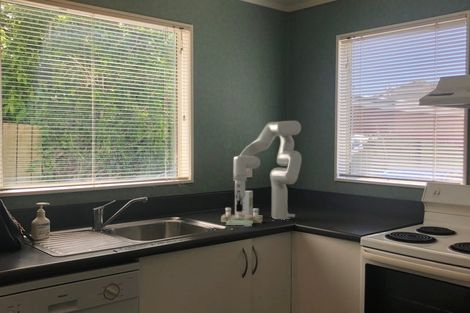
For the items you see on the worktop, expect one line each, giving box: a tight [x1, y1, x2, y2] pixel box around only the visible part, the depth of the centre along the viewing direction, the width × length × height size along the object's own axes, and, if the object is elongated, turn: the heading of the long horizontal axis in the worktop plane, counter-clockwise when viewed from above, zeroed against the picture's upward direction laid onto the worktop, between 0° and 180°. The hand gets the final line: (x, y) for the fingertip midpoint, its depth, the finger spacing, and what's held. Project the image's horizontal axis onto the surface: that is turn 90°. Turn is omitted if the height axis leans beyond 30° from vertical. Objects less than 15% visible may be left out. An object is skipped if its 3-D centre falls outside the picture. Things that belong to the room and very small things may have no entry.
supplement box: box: [234, 190, 254, 215], centre depth 292 cm, size 10×9×17 cm
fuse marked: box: [236, 211, 242, 219], centre depth 265 cm, size 3×3×8 cm
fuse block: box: [220, 214, 264, 224], centre depth 275 cm, size 23×8×4 cm, turn 82°
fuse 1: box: [225, 207, 232, 216], centre depth 276 cm, size 3×3×8 cm
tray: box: [225, 220, 254, 227], centre depth 265 cm, size 14×9×2 cm, turn 82°
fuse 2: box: [253, 207, 260, 217], centre depth 273 cm, size 3×3×8 cm
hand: (239, 210), depth 265 cm, fingers closed on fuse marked, 3 cm apart
